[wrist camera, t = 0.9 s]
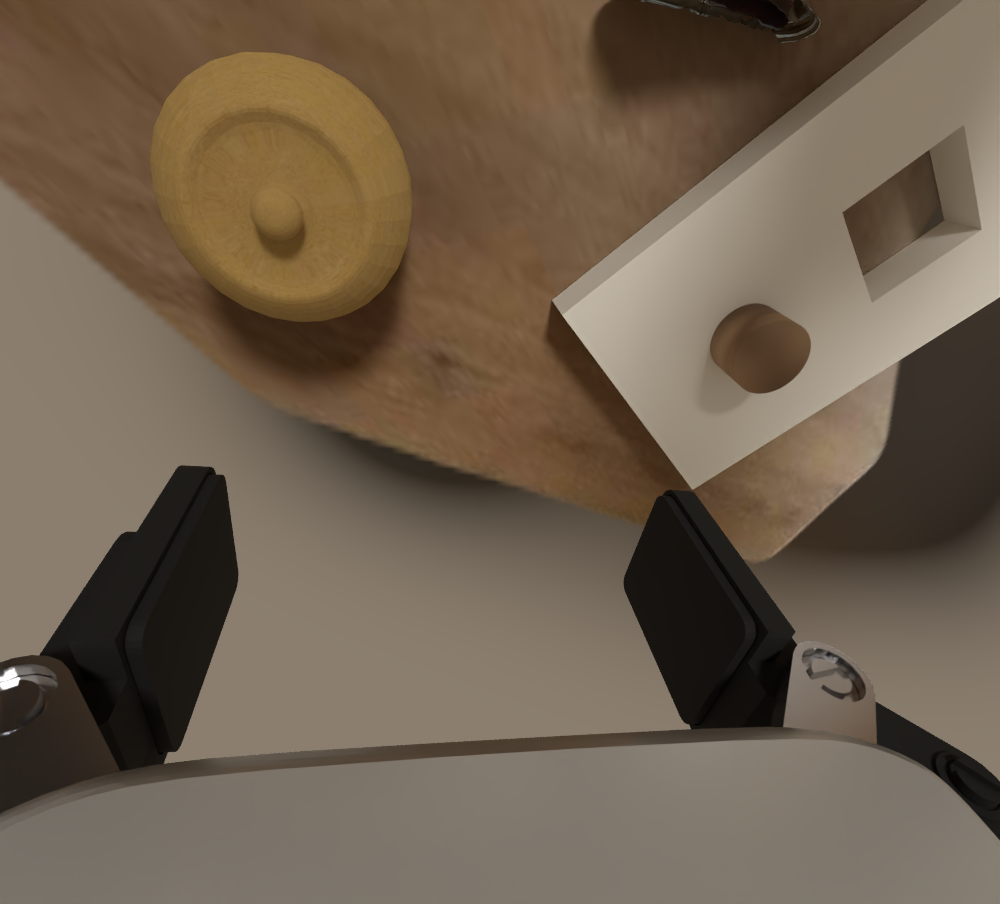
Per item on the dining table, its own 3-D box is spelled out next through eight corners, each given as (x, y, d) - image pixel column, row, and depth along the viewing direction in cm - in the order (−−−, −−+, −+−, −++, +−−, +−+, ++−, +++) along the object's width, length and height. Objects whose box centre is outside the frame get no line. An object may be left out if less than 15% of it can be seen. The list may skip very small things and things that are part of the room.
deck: (959, -26, 29) (1009, -37, 27) (1002, 260, 39) (1041, 271, 37) (551, 300, 36) (562, 315, 34) (677, 468, 47) (692, 489, 44)
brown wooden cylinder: (764, 288, 35) (796, 305, 32) (789, 341, 37) (820, 362, 34) (698, 335, 36) (723, 356, 33) (726, 383, 39) (751, 407, 36)
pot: (160, 71, 27) (49, 62, 19) (389, 45, 27) (379, 25, 19) (246, 296, 34) (192, 362, 25) (428, 271, 34) (433, 328, 26)
